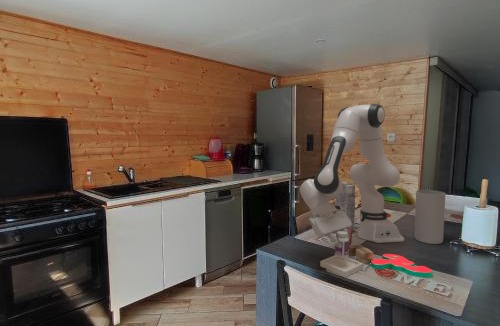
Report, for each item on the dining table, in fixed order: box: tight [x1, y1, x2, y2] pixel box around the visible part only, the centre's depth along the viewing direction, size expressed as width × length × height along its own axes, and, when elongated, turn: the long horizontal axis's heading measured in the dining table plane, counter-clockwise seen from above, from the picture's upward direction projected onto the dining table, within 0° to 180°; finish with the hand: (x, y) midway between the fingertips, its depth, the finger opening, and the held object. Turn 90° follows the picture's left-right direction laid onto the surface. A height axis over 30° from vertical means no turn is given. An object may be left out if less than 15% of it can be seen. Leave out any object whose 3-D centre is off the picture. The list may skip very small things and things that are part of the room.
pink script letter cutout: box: [370, 253, 433, 278], centre depth 114 cm, size 20×16×2 cm
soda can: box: [335, 227, 353, 245], centre depth 134 cm, size 7×7×12 cm
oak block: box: [355, 247, 374, 265], centre depth 120 cm, size 5×5×5 cm
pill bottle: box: [334, 231, 350, 258], centre depth 114 cm, size 5×5×10 cm
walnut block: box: [349, 244, 365, 257], centre depth 128 cm, size 6×4×4 cm, turn 77°
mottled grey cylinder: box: [334, 181, 356, 230], centre depth 166 cm, size 9×10×27 cm
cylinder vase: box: [413, 189, 446, 245], centre depth 144 cm, size 12×12×25 cm
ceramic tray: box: [319, 254, 364, 278], centre depth 115 cm, size 12×12×2 cm
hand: (343, 241), depth 114 cm, fingers closed on pill bottle, 5 cm apart
